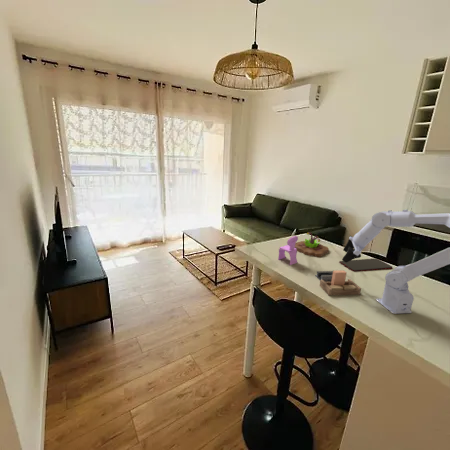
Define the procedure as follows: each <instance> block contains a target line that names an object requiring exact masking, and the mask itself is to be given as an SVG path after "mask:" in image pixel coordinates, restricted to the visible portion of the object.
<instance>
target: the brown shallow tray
mask: <svg viewBox="0 0 450 450" xmlns="http://www.w3.org/2000/svg"><path fill="white" fill-rule="evenodd" d="M330 285H331V282H324V281H323V280H319V287H320V288H321V289H322V290H323V291H324V293H326V295H327V296H356V295H357V296H358V295H361V291H362V288H361V286H359V285H358V284H357V283H355V281H353V280H352V279H350V278H348V279H347V280H345V284H344V285H354V286H355V287H356V289H354V290H332V289H331V288H330V287H329V286H330ZM340 286H342V285H340Z"/></svg>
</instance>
